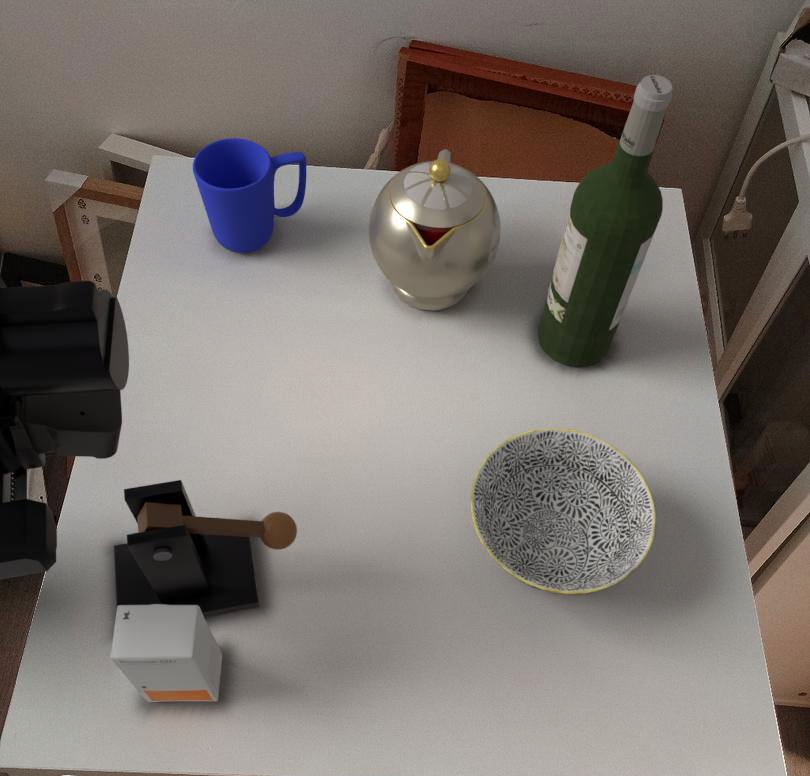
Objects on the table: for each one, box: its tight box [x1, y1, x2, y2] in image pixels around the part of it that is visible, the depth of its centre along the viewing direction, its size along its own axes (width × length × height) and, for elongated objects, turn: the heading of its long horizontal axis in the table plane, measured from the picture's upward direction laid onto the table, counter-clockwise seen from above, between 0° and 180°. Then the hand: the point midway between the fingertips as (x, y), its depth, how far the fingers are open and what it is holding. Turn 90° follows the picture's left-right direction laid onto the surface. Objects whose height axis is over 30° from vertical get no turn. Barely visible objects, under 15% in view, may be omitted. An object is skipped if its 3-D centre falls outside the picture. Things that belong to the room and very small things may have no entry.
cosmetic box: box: [109, 604, 223, 703], centre depth 65 cm, size 6×4×12 cm
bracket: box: [113, 479, 261, 618], centre depth 69 cm, size 12×8×13 cm, turn 102°
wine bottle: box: [537, 74, 673, 368], centre depth 76 cm, size 8×8×30 cm
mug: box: [192, 137, 308, 254], centre depth 91 cm, size 8×12×10 cm
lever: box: [137, 502, 298, 551], centre depth 67 cm, size 13×3×3 cm, turn 102°
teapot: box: [368, 148, 501, 311], centre depth 86 cm, size 18×14×16 cm
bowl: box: [470, 427, 657, 595], centre depth 74 cm, size 16×16×8 cm
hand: (45, 505), depth 63 cm, fingers open, 9 cm apart
